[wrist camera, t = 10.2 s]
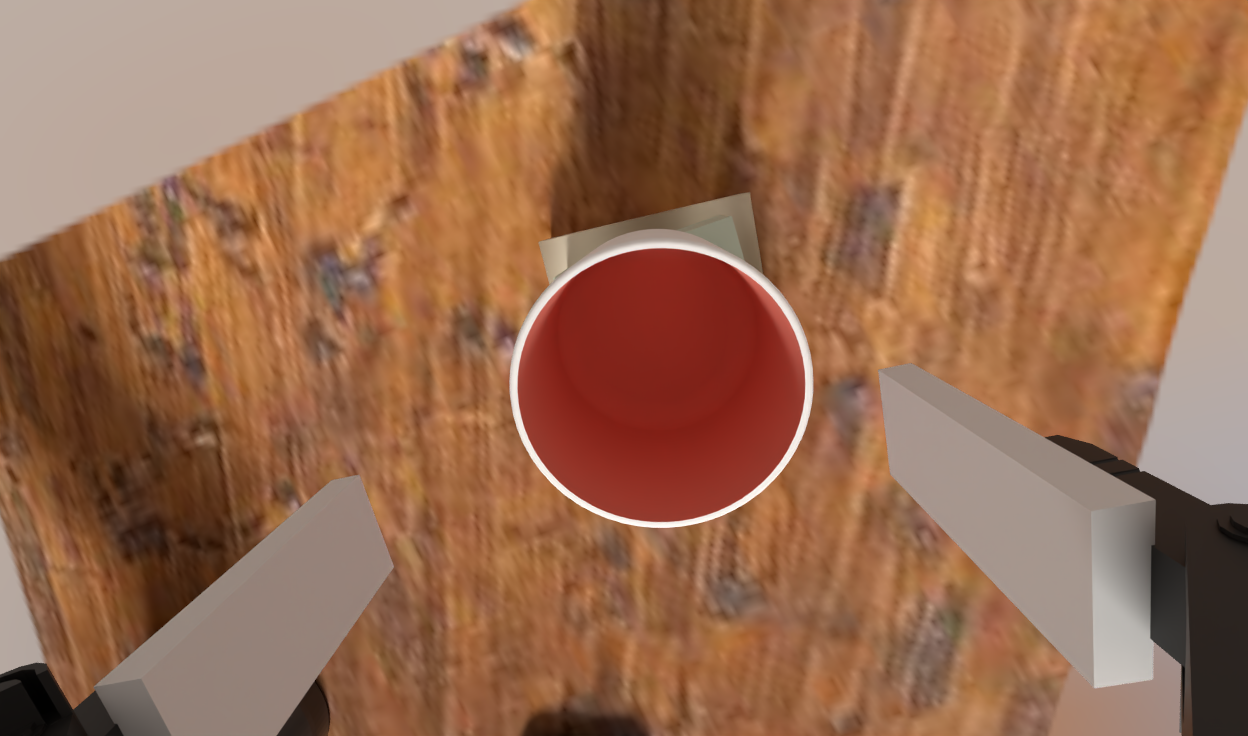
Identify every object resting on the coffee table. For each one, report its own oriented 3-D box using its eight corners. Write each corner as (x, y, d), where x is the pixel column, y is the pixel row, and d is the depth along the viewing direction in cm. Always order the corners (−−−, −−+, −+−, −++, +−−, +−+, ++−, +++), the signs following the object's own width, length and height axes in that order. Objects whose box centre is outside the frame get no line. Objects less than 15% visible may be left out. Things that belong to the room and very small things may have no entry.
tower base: (596, 408, 40) (589, 435, 35) (552, 237, 37) (538, 241, 32) (766, 373, 39) (783, 396, 34) (736, 194, 36) (749, 192, 31)
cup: (536, 248, 28) (476, 268, 18) (744, 210, 27) (799, 210, 17) (577, 438, 30) (543, 547, 20) (768, 410, 29) (827, 509, 20)
